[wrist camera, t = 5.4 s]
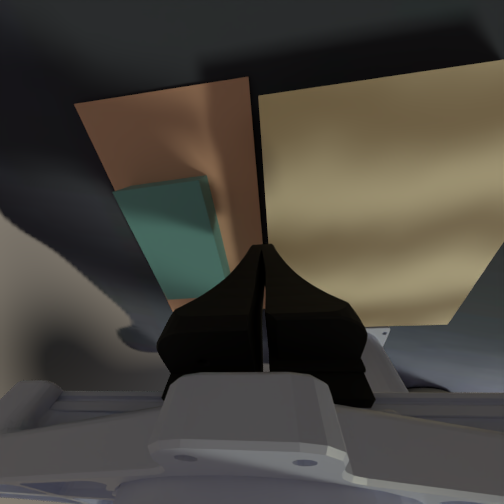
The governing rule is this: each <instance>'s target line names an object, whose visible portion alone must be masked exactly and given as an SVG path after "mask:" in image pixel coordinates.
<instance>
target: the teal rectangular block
mask: <svg viewBox="0 0 504 504" xmlns="http://www.w3.org/2000/svg"><path fill="white" fill-rule="evenodd" d="M112 193H113V195H114V197H115V198H116V200H117V202H118V204H119V206H120V208H121V210H122V212H123V214H124V216H125V218H126V220H127V222H128V224H129V226H130V228H131V230H132V232H133V234H134V236H135V238H136V239H137V241H138V243H139V245H140V247H141V249H142V251H143V253H144V255H145V257H146V259H147V261H148V263H149V265H150V267H151V269H152V271H153V273H154V275H155V277H156V279H157V280H158V282H159V284H160V286H161V288H162V290H163V292H164V294H165V296H166V298H167V300H173V299H188V298H198V297H200V296H201V295H203V294H204V293H206V292H208V291H209V290H211V289H212V288H213V287H215V286H216V285H217V284H219V283H220V282H221V281H222V280H224V279H225V278H226V277H227V276H228V275H229V274H230V269H229V265H228V260H227V256H226V252H225V248H224V244H223V240H222V236H221V232H220V228H219V224H218V219H217V215H216V211H215V207H214V203H213V199H212V195H211V191H210V187H209V182H208V178H207V175H204V176H197V177H189V178H182V179H175V180H168V181H161V182H154V183H147V184H140V185H133V186H129V187H126V188H123V189H120V190H117V191H114V192H112Z"/></svg>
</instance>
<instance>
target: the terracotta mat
mask: <svg viewBox="0 0 504 504" xmlns="http://www.w3.org/2000/svg"><path fill="white" fill-rule="evenodd" d="M74 105H75V108H76V110H77V112H78V114H79V116H80V118H81V120H82V122H83V124H84V126H85V129H86V131H87V133H88V135H89V137H90V139H91V141H92V143H93V145H94V148H95V150H96V152H97V154H98V156H99V158H100V160H101V162H102V164H103V166H104V169H105V171H106V173H107V175H108V177H109V179H110V181H111V183H112V185H113V187H114V190H115V191H117V190H120V189H123V188H126V187H129V186H133V185H140V184H147V183H154V182H161V181H168V180H175V179H182V178H189V177H197V176H204V175H207V178H208V182H209V187H210V191H211V195H212V199H213V203H214V207H215V211H216V215H217V219H218V224H219V228H220V232H221V236H222V240H223V244H224V248H225V252H226V256H227V260H228V265H229V269H230V273H231V272H232V271H233V270H234V269H235V268H236V266H237V265H238V264H239V263H240V262H241V260H242V259H243V257H244V256H245V255H246V253H247V252H248V250H249V248H250V247H251V246H252V245H258V244H263V240H262V228H261V216H260V205H259V193H258V181H257V170H256V158H255V147H254V135H253V123H252V112H251V100H250V89H249V78H248V77H243V78H236V79H230V80H224V81H217V82H211V83H204V84H198V85H192V86H185V87H179V88H173V89H166V90H160V91H154V92H147V93H141V94H135V95H128V96H122V97H116V98H109V99H103V100H97V101H90V102H84V103H77V104H74ZM164 295H165V294H164ZM165 297H166V296H165ZM166 299H167V298H166ZM194 299H196V298H188V299H173V300H167V301H168V303H169V305H170V307H171V309H172V311H173V312H174V310H175V309H177V308H179V307H181V306H183V305H185V304H187V303H189V302H191V301H193V300H194ZM265 300H266V290H265V288H264V300H263V309H265Z"/></svg>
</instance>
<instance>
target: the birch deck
mask: <svg viewBox="0 0 504 504" xmlns="http://www.w3.org/2000/svg"><path fill="white" fill-rule="evenodd" d="M258 98H259V113H260V127H261V142H262V157H263V171H264V186H265V201H266V215H267V230H268V244H273V245H274V247H275V249H276V250H277V252H278V253H279V255H280V256H281V257H282V259H283V260H284V261H285V262H286V263H287V264H288V266H289V267H290V268H291V269H292V270H293V271H295V272H296V273H297V274H298V275H299V276H300V277H302V278H303V279H304V280H306V281H307V282H309V283H310V284H312V285H314V286H315V287H317V288H319V289H321V290H322V291H324V292H326V293H328V294H330V295H332V296H335V297H337V298H339V299H342V300H344V301H346V302H348V303H349V304H350V305H351V307H352V308H353V309H354V311H355V312H356V313H357V315H358V316H359V318H360V319H361V321H362V323H363V325H364V327H374V326H410V325H446V324H448V323H449V322H450V320H451V319H452V317H453V316H454V314H455V313H456V311H457V310H458V308H459V307H460V305H461V304H462V302H463V301H464V300H465V298H466V297H467V295H468V294H469V292H470V291H471V289H472V288H473V286H474V285H475V283H476V282H477V280H478V279H479V277H480V276H481V274H482V273H483V271H484V270H485V268H486V267H487V265H488V264H489V263H490V261H491V260H492V258H493V257H494V255H495V254H496V252H497V251H498V249H499V248H500V246H501V245H502V243H503V242H504V60H498V61H491V62H484V63H477V64H471V65H464V66H457V67H450V68H443V69H437V70H430V71H423V72H416V73H409V74H402V75H396V76H389V77H382V78H375V79H368V80H362V81H355V82H348V83H341V84H334V85H328V86H321V87H314V88H307V89H300V90H294V91H287V92H280V93H273V94H266V95H260V96H258Z"/></svg>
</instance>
